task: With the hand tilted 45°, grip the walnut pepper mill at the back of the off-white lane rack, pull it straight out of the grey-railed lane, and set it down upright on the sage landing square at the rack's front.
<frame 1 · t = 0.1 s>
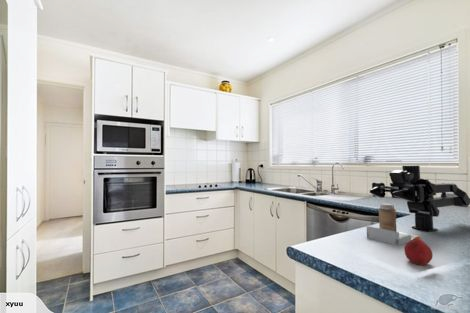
hand: (380, 192, 87), 17 cm above the table, tool horizontal, fingers open, 9 cm apart
pepper mill: (388, 238, 80), point 1 cm above the table, touching lane rack
onion: (418, 267, 60), on the table
lane rack: (393, 239, 82), on the table
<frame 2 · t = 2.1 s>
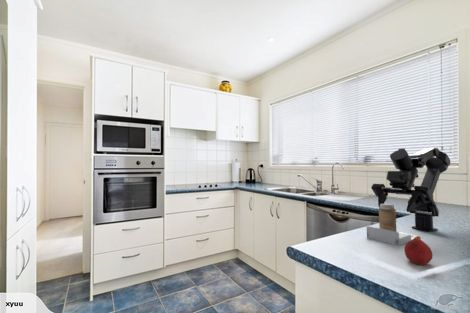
hand: (392, 209, 82), 11 cm above the table, tool tilted 45°, fingers open, 9 cm apart
nothing on the table moved.
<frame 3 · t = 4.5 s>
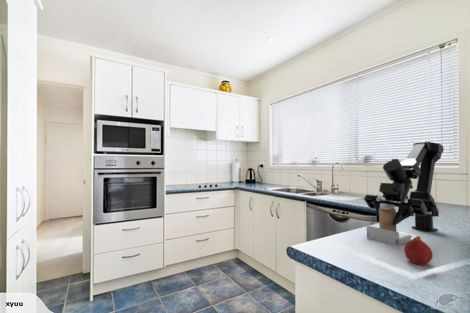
hand: (385, 222, 79), 7 cm above the table, tool tilted 45°, fingers closed on pepper mill, 5 cm apart
pepper mill: (388, 238, 80), point 1 cm above the table, touching gripper, lane rack
everything else where it was.
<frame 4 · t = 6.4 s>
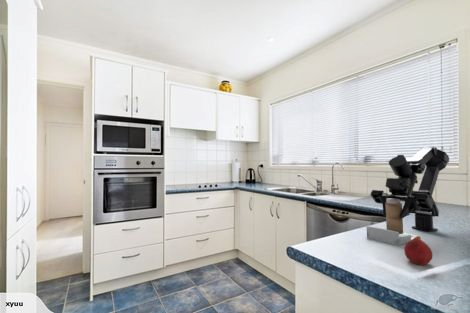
hand: (392, 216, 82), 8 cm above the table, tool tilted 45°, fingers closed on pepper mill, 5 cm apart
pepper mill: (394, 232, 82), point 3 cm above the table, touching gripper
everything else where it was.
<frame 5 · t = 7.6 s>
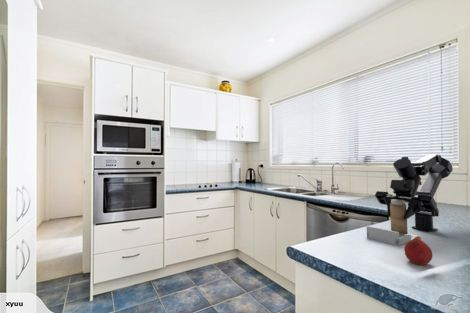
hand: (396, 217, 84), 8 cm above the table, tool tilted 45°, fingers closed on pepper mill, 5 cm apart
pepper mill: (399, 232, 84), point 2 cm above the table, touching gripper
everything else where it was.
when the fingers open (8 cm above the table, at t = 8.4 s): pepper mill stays where it is, resting on lane rack.
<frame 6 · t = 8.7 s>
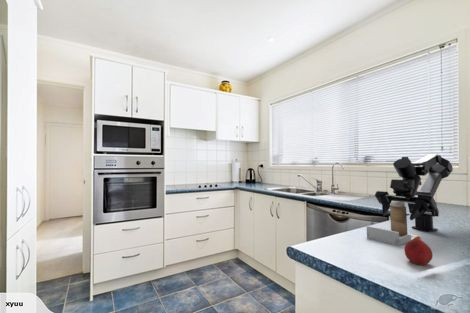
hand: (396, 217, 84), 8 cm above the table, tool tilted 45°, fingers open, 9 cm apart
pepper mill: (399, 234, 84), point 1 cm above the table, touching lane rack
everything else where it was.
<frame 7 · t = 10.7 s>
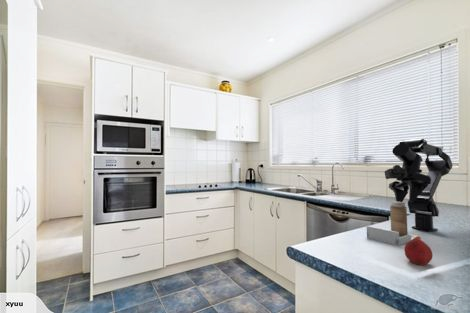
hand: (404, 203, 88), 12 cm above the table, tool tilted 25°, fingers open, 9 cm apart
nothing on the table moved.
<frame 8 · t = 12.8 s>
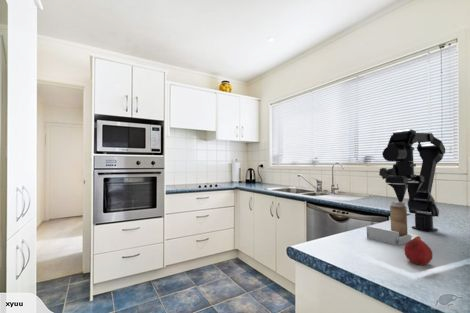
hand: (406, 200, 89), 13 cm above the table, tool pointing down, fingers open, 9 cm apart
nothing on the table moved.
at the end: pepper mill 0.2 cm from the target spot, point 1.1 cm above the table; pepper mill tilted 0°; the gripper is holding nothing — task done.
